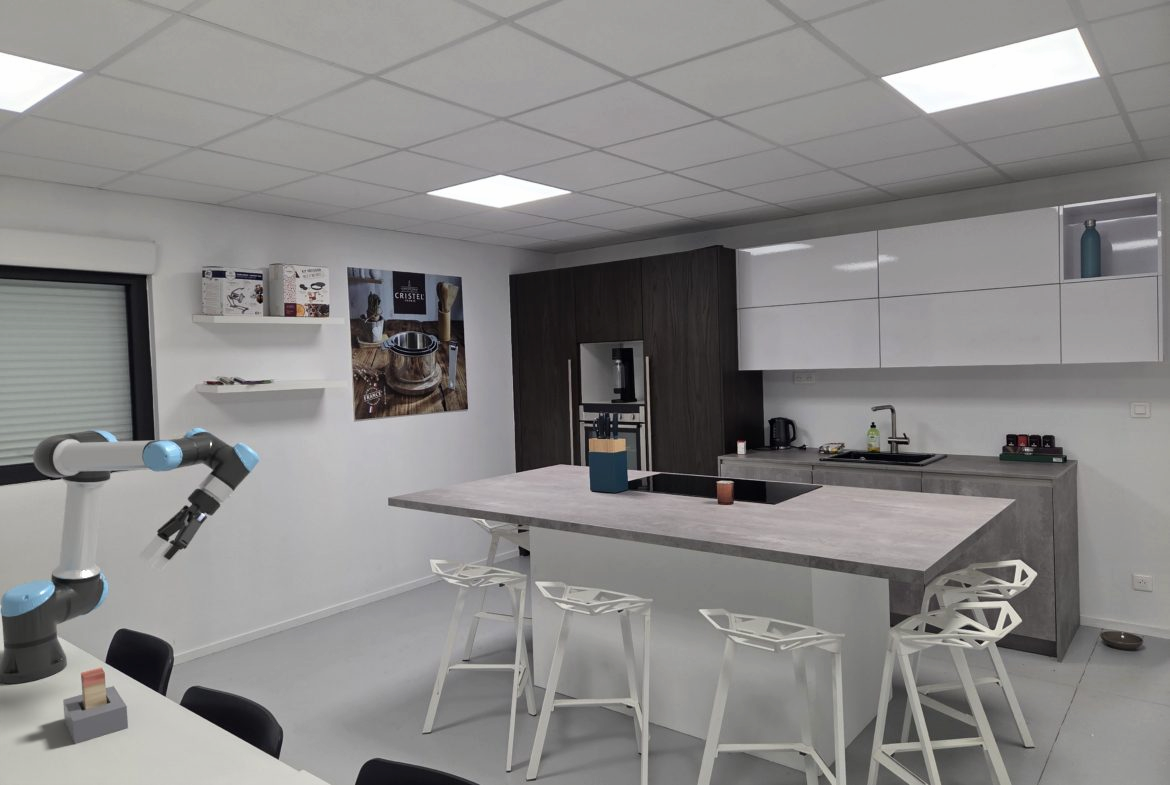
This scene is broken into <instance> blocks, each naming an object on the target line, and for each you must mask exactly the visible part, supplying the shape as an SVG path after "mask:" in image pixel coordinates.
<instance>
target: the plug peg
mask: <svg viewBox="0 0 1170 785" xmlns="http://www.w3.org/2000/svg"><path fill="white" fill-rule="evenodd" d="M80 680H81V690H82V691H81V695H82V697H83V710H87V709H90V708H94V707H97V706H101V705H104V704H107V699H106V688H107V686H106V673H105V670H103V668H102V667H97V668H94V669H91V670H90V669H89V670H86V671H83V672H82V671H81V672H80Z"/></svg>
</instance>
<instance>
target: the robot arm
mask: <svg viewBox="0 0 1170 785" xmlns="http://www.w3.org/2000/svg"><path fill="white" fill-rule="evenodd" d="M32 460H33V464H34V466H35V468H36V469H37V470H38V472H40V473H41V474H43V475H45V476H47V477H50V478H61V480H62V481H63V482H64V483H65V484H66V492H65V504H64V515H63V524H62V531H61V532H62V534H61V542H60V543H61V544H60V553H59V563H58V564H59V565H57V566H56V567H55V568H53V569H52V570H51V571H52V572H51V577H50V578H51V579H50V580H46V579H43V580H36V581H35V580H34V581H30V582H27V583H23V584H20V585H17V586H15V587H13V588H10V589H8V590H7V591H6V592H5V593H4V594H3V595H2V597H1V599H0V600H1V601H0V603H1V604H0V615H1V622H2V636H3V653H2V656H1V658H0V683H1V684H20V683H27V682H33V681H36V680H40V679H44V678H47V677H50V676H52V675H55V674H57V673H59V672H61V671H63V670H64V669H65V668H66V667H67V665H68V659H67V655H66V653H65V651H64V649H63V647H62V645H61V643H60V641H59V639H58V628H57V625H59V624H62V623H65V622H67V621H70V620H72V619H73V620H74V619H76V618H79V617H81V616H85V615H87V614H89V613H91V612H93V611H94V610H96V609H98V608H99V607H101V606H102V605H103V604H104V603H105V601H106V599H107V596H108V594H109V584H108V581H107V580H106V576H105V575H104V574H103V573H102V572H101V567H100V566H98V565H97V564H96V559H97V550H98V549H97V548H98V539H99V530H100V529H99V528H100V527H99V526H100V522H101V520H100V519H101V510H102V502H103V501H102V499H103V492H104V491H103V490H104V485H105V484H106V483H108V482H109V481H110V480H111V474H112V473H111V472H112V471H117V472H118V471H147V470H149V471H150V470H151V471H153V472H156V473H157V472H158V473H159V472H169V471H172V470H174V469H175V470H176V469H180V468H185V467H190V466H195V465H201V464H203V465H205V466H207V467H208V468H209V469H211V472H210V473H209V474H208V475H207V476H206V477H205V478H204V479H203V480H202V481H201V482H200V483H199V484H198V486H199V488H195V489H194V490H193V492H192V493H191V494H189V496H188V497H187V501H188V502H189V503H191V505H190V506H188V505H187V504H186V505H184V506H183V507H182V508H181V509H180V510H179V511H178V512H177V513H176V514H174V515H173V516H172V517H171V518H169V520H168V521H166V522H165V523H164V524H163V525H162V526H161V527H160V528H158V530H157V531H156V532H157V535H156V536H154V538H153V539H151V541H150V542H149V543H148V544H147V546H145V548H144V549H143V550H142V551H140V553H139V555H137V557H138V558H140V559H141V560H143V561H144V562H146V563H149V562H150V560H152V558H153V557H154V556H155V555H156V554H157V553H158V551H160V549H161V548H162V547H163V545H165V544H166V543H168V542H169V544H168V545H167V546H166V548H164V549H163V550H162V552H161V553H160V554H159V555H158V557H156V559H154V561H153V562H152V563H151V564H149V565H150V566H149V567H151V568H153V569H154V570H155V571H157V572H158V573H161V572H162V571H163V570H165V568H166V567H167V565H168V564H169V563H170V562H171V561H172V560H173V559H174V558H175V556H176V555H177V554H178V553H179V552H180V551H181V550H183V549H184V550H185V549H187V548H188V546H189V544H190V543H191V541H192V540H193V539H194V537H195V535H196V533H197V532H198V531H199V529H200V527H202V525H203V523H205V521H206V520H207V518H208V516H213V515H215V513H216V512H217V511H218V510H219V508H221V504H220V503H225V501H226V500H227V499H230V498H231V497H232V495H231V494H233V492H234V491H235V489H236V488H237V487H238V486H239V485H240V484H241V483H242V482H243V481H244V480H245V479H246V477H248V475H249V474H250V473H252V471H253V470H254V468H255V467H256V466H257V465H258V463H259V462H260V456H259V455H258V454H257V452H256V451H254V450H253V449H252V448H251V447H249V446H248V445H246V444H244V443H242V442H237V443H236V444H235V445H233V446H231V445H229V444H228V443H226V441H224V440H222V439H220V438H218V437H217V436H215V434H213V433H212V432H210V431H208V430H206V429H203V428H201V427H195V428H193V429H192V428H191V430H189V431H188V432H186V433H185V435H184V436H183V437H181V438H173V439H157V440H154V439H153V440H131V441H129V440H126V441H125V440H124V441H121V440H120V441H119V440H117V437H115V435H113V434H112V433H111V432H109V431H107V430H85V431H78V432H72V433H62V434H54V435H51V436H49V437H47V438H45V439H43V440H41V442H39V443H38V444H37V446H36V447H35V449H34V452H33V455H32ZM207 515H208V516H207ZM175 533H177V534H176V535H175V538H174V539H171V540H170V537H172V536H173V535H174V534H175ZM169 540H170V541H169Z"/></svg>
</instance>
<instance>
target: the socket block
mask: <svg viewBox="0 0 1170 785" xmlns="http://www.w3.org/2000/svg"><path fill="white" fill-rule="evenodd" d="M106 699H107V704H104V705H101V706H97V707H94V708H90V709H87V710H83V697H82V694H78V695H75V696H70V697H68V698H64V699H63V717H64V723H65V725H66V727H67V729H68V731H69V733H70V736H71V739H72V740H73V743H74V744H75V745H76V744H80V743H83V742H85V741H87V742H88V741H89V740H92V739H97V738H100V737H102V736H103V737H104V736H106V735H109V734H113V733H116V732H119V731H122V730H125V729H129V724H128V723H129V722H128V720H129V719H128V706H127V704H126V702H124V700H123V698H122V697H121V695H120V694H119V692H118V690H117V689H116V687H115V686H114V685H112V686H109V687H106Z"/></svg>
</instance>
